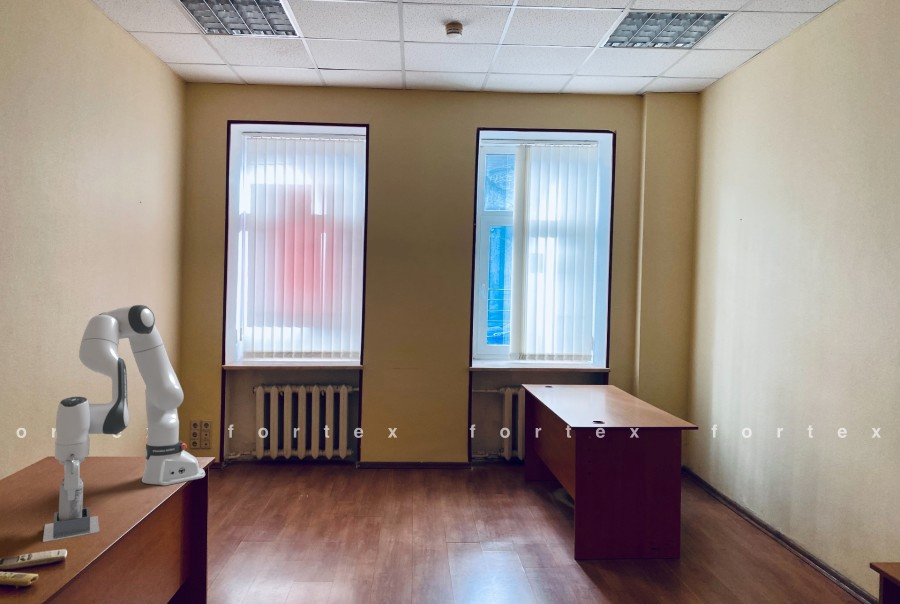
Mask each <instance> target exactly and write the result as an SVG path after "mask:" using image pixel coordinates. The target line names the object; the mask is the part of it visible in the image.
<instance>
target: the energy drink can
mask: <svg viewBox="0 0 900 604" xmlns="http://www.w3.org/2000/svg"><path fill="white" fill-rule="evenodd" d="M58 496H59V498H58V499H59V501H58V512H59V519H58V521H62V520H69V519H75V518H81V517H82V508H83V504H84V503H83V501H84V499H83V498H84V482H83V480H82V477H81V476H79V488H78V489H76V490H75V499H74V500H68V492H67V490H65V489H64V478H63V479H62V482H61V484H60V485H59V495H58Z"/></svg>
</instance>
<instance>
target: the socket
mask: <svg viewBox="0 0 900 604" xmlns="http://www.w3.org/2000/svg"><path fill="white" fill-rule="evenodd" d="M90 511H91V509H90V507H89V506H88V507H82V517H81V518H75V519H69V520H62V521H58V519H59V511H55V512H54V514H53V522H52V523H45V524H44V529H43V531H44V532H43V538H42V542H43V543H46V542H51V541H58V540H62V539H68V538H73V537H80V536H85V535H90V534H91V535H92V534H96V533H98V534H99V533H100V525H99V516H98V515H95V516H91V512H90Z"/></svg>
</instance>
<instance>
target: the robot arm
mask: <svg viewBox="0 0 900 604" xmlns="http://www.w3.org/2000/svg"><path fill="white" fill-rule="evenodd" d="M155 321H156V318H155V315H154V313H153V311H152V309H151V308H149V307H148V306H146V305H144V304H136V305H132V306H123V307H118V308H116V309H113V310H110V311H107V312H105V311H104V312H102V313H98V315H95V316H92V317H91V318H90V319H89V320H88V323H87V324H86V327H85V330H84V333H83V334H82V338H81V341H80V344H79V345H80V346H79V351H78V355H79V356H78V358H79V360H80V362H81V364H82V365H83V366H85V367H86V368H87V369H89V370H91V371H93V372H96V373H99V374H101V375H104V376H107V377H109V378H110V379H111V399H112V400H111V401H110V402H108V403H89V399H88V398H86V397H83V396H71V397H65V398H64V399H62V400H61V401H60V402H59V403H58V406H57V411H56V418H55V431H56V439H55V444H54V459H55V460H57V461H59V464H60V465H63V469H64V478H63V479H64V489H65V490H67V492H68V500H74V499H75V490H76V489H78V488H79V477H80V464H81V463H82V462H85V458H86V457H88V456H89V455H90V441H91V440H90V435H94V434H95V435H100V434H102V435H103V434H104V435H114V436H116V435H119V434H120V433H122V432H124V430H125V429H126V428H127V427H128V426H129V422H130V413H129V404H128V379H127V378H128V377H127V376H128V374H127V366H126V362H125V361H124V359H123V358H121V357H120V355H119V353H118V349H119V345H120V343H119V342H120V340H121V339H126V338H128V341H129V345H130V349H131V351H132V356H133V358H134V361H135V363H136V366H137V369H138V373H139V374H140V376H141V378H142V380H143V383H144V385H145V394H144V395H145V409H146V419H147V420H146V421H147V422H146V423H147V443H146V445H145V450H144V451H145V453H144V455H145V466H144V470H143V471H144V472H143V476H142V478H141V482H142V483H143V484H148V485H157V486H158V485H159V486H170V485H174V484H179V483H184V482H188V481H189V482H190V481H194V480H198V479H202V478H204V477H205V476H206V472H205V470H204V469H203V468H201V467H200V465H199V461H198V459H197V458H196V456H194V455H192V454H191V453H189V452H188V451H186V449H187V448H188V445H187V444H186V443H185V442H183V441H182V440H179V438H180V437H179V436H180V434H179V433H180V420H179V414H178V408H179V407H180V406H181V405H182V403H183V402H184V391H183V388H182V386H181V384H180V381H179V379H178V377H177V374H176V372H175V370H174V368H173V366H172V364H171V361H170V358H169V355H168V353H167V349H166V346H165V344H164V340H163V339H162V336H161V334H160V331H159V330H158V328H157V326H156V324H155V323H156V322H155Z"/></svg>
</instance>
